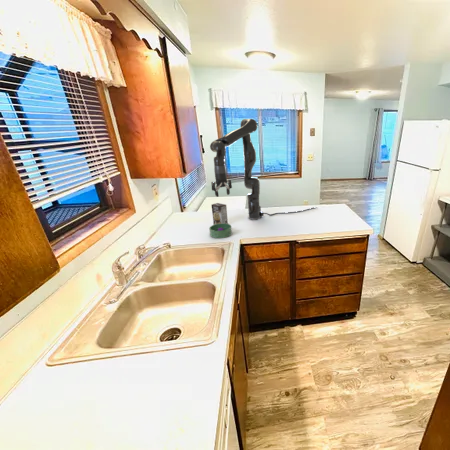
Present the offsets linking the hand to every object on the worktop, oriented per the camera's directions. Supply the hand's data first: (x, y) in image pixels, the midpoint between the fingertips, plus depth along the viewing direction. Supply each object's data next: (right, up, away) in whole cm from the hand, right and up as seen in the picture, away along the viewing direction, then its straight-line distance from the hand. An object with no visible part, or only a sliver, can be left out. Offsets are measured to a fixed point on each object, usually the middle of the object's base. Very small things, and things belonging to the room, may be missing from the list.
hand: (222, 195), depth 168 cm
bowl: (+1, -27, -5) cm, 28 cm away
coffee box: (-6, -21, +13) cm, 25 cm away
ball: (+1, -25, -6) cm, 26 cm away
